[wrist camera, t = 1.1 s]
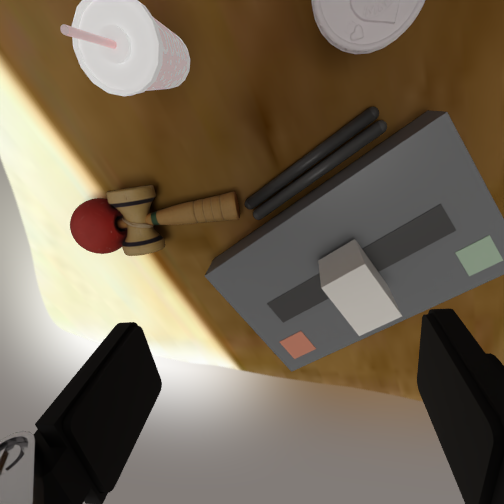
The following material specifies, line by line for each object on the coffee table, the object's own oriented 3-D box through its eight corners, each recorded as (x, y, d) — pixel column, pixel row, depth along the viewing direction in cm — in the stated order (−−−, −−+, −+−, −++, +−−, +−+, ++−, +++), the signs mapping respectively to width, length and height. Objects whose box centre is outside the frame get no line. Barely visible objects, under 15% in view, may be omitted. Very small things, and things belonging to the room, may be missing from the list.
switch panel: (409, 76, 27) (426, 72, 23) (501, 245, 32) (527, 264, 28) (194, 237, 36) (182, 252, 33) (292, 348, 42) (291, 372, 38)
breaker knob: (354, 238, 29) (364, 263, 25) (387, 285, 31) (402, 316, 26) (318, 260, 31) (321, 287, 26) (351, 303, 32) (359, 336, 28)
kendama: (230, 156, 33) (70, 185, 35) (228, 178, 28) (40, 212, 29) (243, 219, 38) (101, 243, 39) (244, 248, 33) (80, 275, 34)
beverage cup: (201, 96, 30) (130, 93, 17) (140, 98, 31) (31, 96, 18) (194, 17, 27) (105, -53, 15) (128, 21, 28) (-9, -42, 16)
